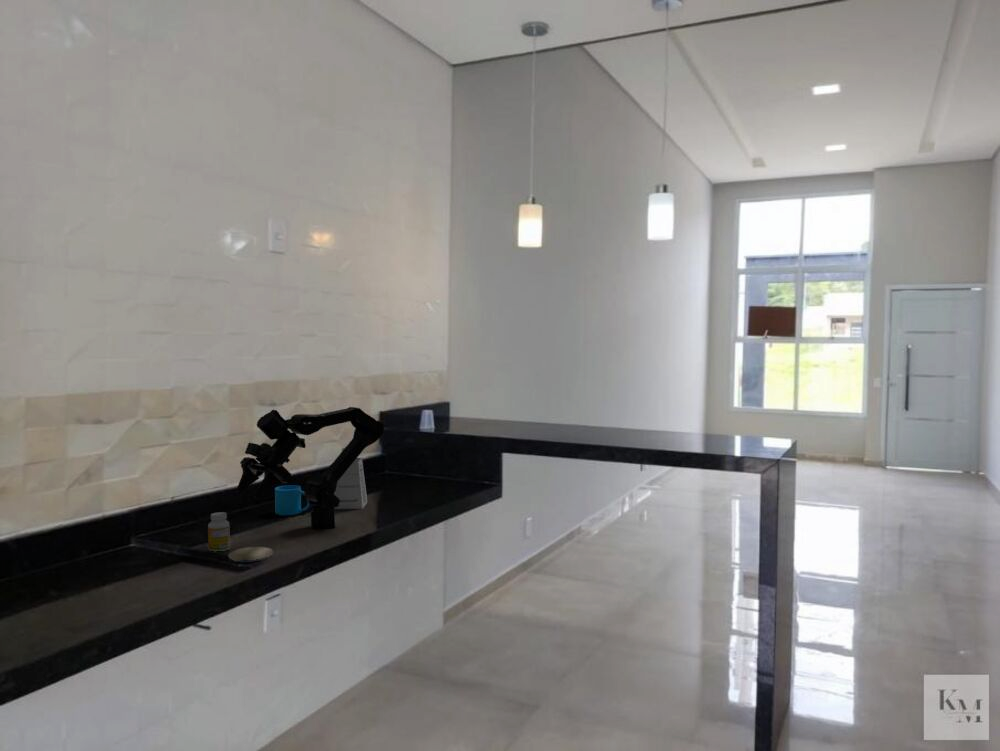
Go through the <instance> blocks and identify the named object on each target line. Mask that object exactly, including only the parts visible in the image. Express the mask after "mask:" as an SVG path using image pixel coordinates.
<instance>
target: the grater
mask: <svg viewBox="0 0 1000 751" xmlns="http://www.w3.org/2000/svg"><path fill="white" fill-rule="evenodd" d="M346 446H347V445H345V446H343V447H342V448H341V452H342V451H343V450H344V449H345V447H346ZM366 487H367V486H366V481H365V472H364V462H363V458H362V457H357V458H356V460H355V461H354V462H353V463H352V465H351V466H350V467H349V468H348V469H347V471H346V472H345V473H344V474H343V476H342V477H341V478H340V479H339V480H338V482H337V486H336V491H335V492H334V495H335V496H336V497H338V498H339V499H340V502H339V506H338V507H335V510H363V509H364V508H365V506H366V505H367V503H368V496H367V488H366Z"/></svg>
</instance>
